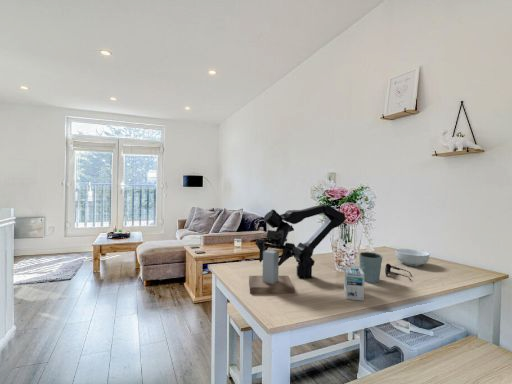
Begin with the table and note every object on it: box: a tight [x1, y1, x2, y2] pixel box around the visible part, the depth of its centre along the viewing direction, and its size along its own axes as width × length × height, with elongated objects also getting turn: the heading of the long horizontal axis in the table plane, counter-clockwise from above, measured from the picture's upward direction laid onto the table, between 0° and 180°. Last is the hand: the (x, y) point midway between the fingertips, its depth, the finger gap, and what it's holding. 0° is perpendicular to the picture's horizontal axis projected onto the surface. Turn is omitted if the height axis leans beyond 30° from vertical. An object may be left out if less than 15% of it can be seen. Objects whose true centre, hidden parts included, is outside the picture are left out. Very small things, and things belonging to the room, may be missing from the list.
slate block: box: [262, 248, 280, 284], centre depth 121 cm, size 5×5×13 cm
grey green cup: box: [358, 251, 383, 284], centre depth 132 cm, size 10×10×12 cm
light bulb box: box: [343, 264, 365, 301], centre depth 114 cm, size 11×7×11 cm, turn 168°
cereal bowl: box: [394, 248, 430, 267], centre depth 159 cm, size 17×17×7 cm
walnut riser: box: [248, 275, 295, 294], centre depth 121 cm, size 18×14×2 cm
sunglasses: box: [384, 263, 413, 281], centre depth 138 cm, size 10×12×5 cm
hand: (269, 263), depth 120 cm, fingers open, 9 cm apart
